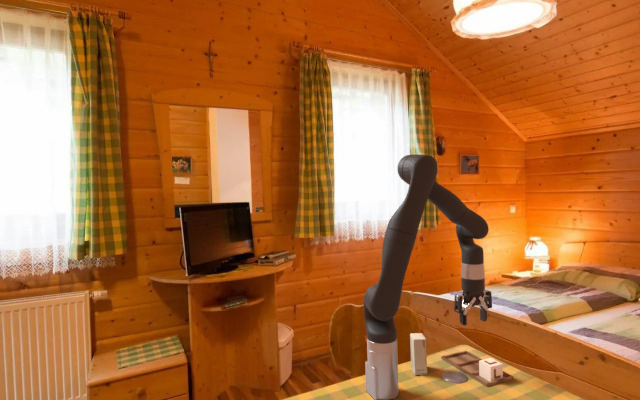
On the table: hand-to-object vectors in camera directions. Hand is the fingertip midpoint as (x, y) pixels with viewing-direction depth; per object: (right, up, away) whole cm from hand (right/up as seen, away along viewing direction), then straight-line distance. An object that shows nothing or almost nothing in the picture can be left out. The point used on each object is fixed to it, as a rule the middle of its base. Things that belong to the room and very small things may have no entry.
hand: (473, 322), depth 135 cm
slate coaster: (-8, -17, -5) cm, 19 cm away
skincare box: (-19, -17, +1) cm, 25 cm away
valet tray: (+1, -16, 0) cm, 16 cm away
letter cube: (+3, -16, -6) cm, 17 cm away
